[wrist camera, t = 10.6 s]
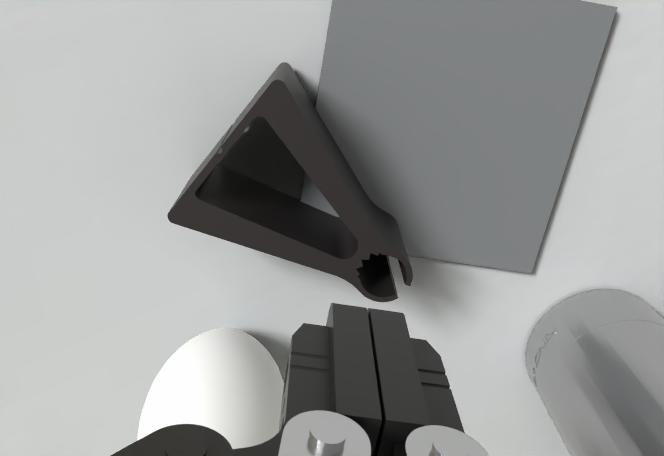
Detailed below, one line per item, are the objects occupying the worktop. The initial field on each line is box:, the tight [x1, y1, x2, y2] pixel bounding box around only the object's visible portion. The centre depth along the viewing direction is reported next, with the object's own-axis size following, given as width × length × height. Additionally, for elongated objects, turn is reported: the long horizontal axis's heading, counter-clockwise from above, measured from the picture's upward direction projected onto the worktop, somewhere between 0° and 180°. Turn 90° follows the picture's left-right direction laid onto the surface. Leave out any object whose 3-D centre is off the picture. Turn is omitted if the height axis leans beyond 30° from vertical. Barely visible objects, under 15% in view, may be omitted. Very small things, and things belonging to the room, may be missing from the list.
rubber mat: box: [300, 0, 617, 274], centre depth 36 cm, size 15×16×1 cm
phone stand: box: [168, 63, 412, 302], centre depth 34 cm, size 9×6×12 cm
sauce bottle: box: [138, 328, 284, 449], centre depth 33 cm, size 8×8×18 cm
